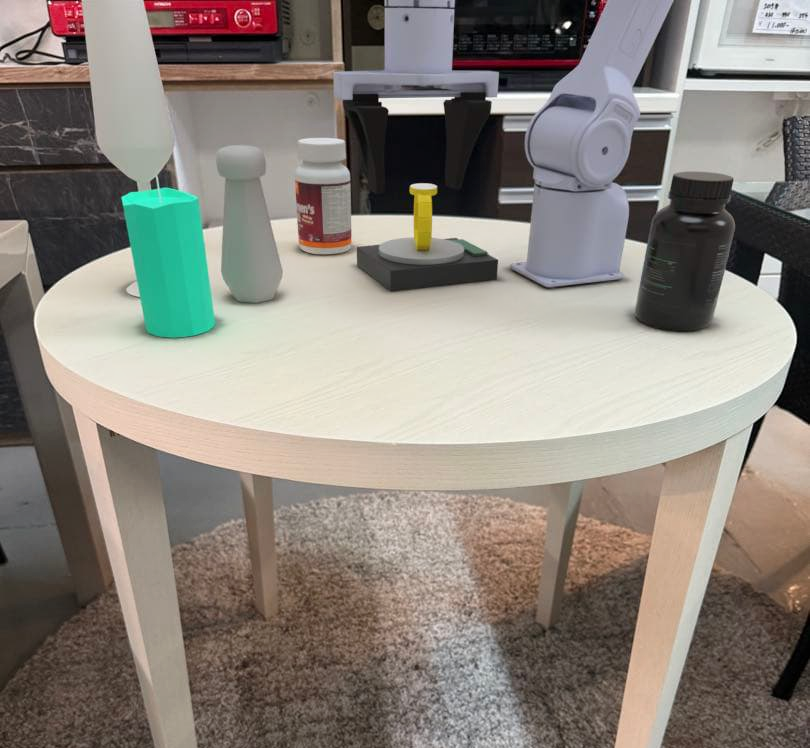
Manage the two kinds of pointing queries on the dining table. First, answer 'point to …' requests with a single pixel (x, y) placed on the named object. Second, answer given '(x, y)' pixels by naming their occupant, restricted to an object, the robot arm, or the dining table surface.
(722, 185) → the supplement bottle
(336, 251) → the pill bottle
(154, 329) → the candle
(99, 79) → the champagne flute
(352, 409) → the dining table surface
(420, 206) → the watch
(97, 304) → the dining table surface
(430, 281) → the scale
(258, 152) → the salt shaker
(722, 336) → the dining table surface
